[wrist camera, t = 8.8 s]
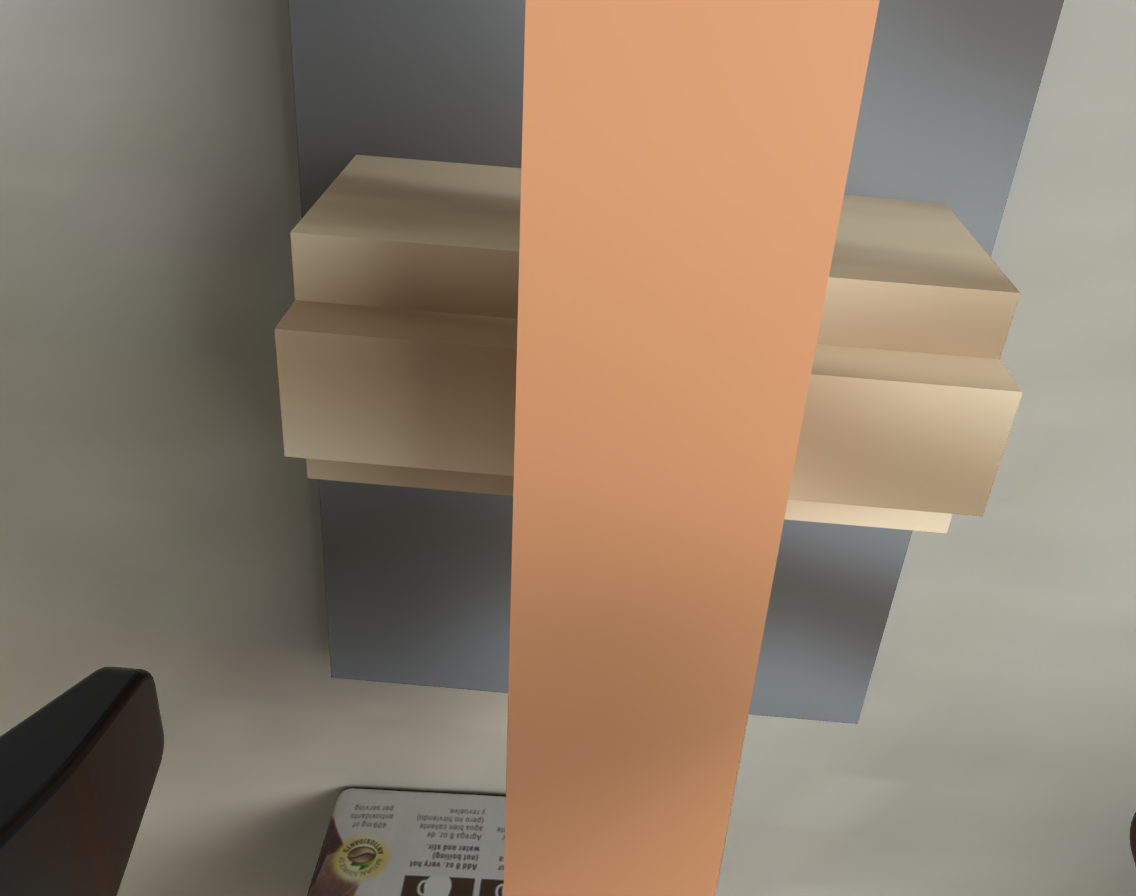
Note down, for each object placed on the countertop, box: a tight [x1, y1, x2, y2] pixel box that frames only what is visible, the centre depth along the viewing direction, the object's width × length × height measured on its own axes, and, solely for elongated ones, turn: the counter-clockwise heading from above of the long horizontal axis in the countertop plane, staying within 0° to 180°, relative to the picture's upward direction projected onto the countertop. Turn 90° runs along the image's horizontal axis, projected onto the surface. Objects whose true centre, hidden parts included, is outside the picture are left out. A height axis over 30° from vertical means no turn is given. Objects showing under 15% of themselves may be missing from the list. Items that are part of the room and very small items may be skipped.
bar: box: [503, 0, 880, 896], centre depth 13 cm, size 18×3×3 cm, turn 177°
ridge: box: [274, 0, 1064, 724], centre depth 17 cm, size 20×12×6 cm, turn 176°
